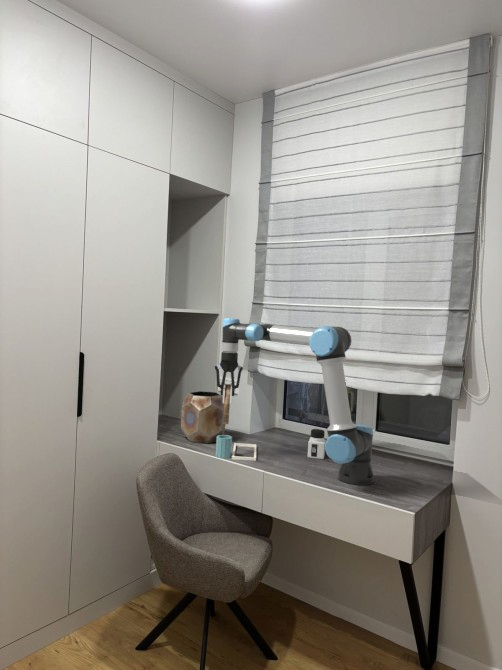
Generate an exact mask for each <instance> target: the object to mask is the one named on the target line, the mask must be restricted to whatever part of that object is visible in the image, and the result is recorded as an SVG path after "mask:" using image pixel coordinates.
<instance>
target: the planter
mask: <svg viewBox="0 0 502 670" xmlns="http://www.w3.org/2000/svg"><path fill="white" fill-rule="evenodd" d="M223 413H224V403H223V396H222V395H221V393H218V392H217V391H201V390H200V391H192V392H191V391H190V392H188V393H187V394H186V395H185V396H184V398H183V401H182V406H181V417H180V418H181V419H180V428H181V430H182V432H183V434H184V437H187V438H186V439H187V440H189V441H190V442H192V443H201V444H210V443H215V442H216V440H217V436H218V435H225V430H226V424H223Z"/></svg>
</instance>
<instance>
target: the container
mask: <svg viewBox="0 0 502 670" xmlns="http://www.w3.org/2000/svg"><path fill="white" fill-rule="evenodd" d="M325 433H326V431H325V430H323V429H321V428H313V429H311V430H310V437H309V440H308V442H307V443H308V445H307V458H311V459H317V460H318V459H321V460H324V459H325V455H326V450H325V443H326V441H327V439H325Z"/></svg>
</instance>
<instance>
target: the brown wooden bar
mask: <svg viewBox="0 0 502 670" xmlns="http://www.w3.org/2000/svg"><path fill="white" fill-rule="evenodd" d="M224 388H225V399H224V413H223V424H225V425H229V422H230V421H229V420H230V419H229V418H230V408H231V407H230V389H232V384H228V383H226V384H225V383H224Z"/></svg>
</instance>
